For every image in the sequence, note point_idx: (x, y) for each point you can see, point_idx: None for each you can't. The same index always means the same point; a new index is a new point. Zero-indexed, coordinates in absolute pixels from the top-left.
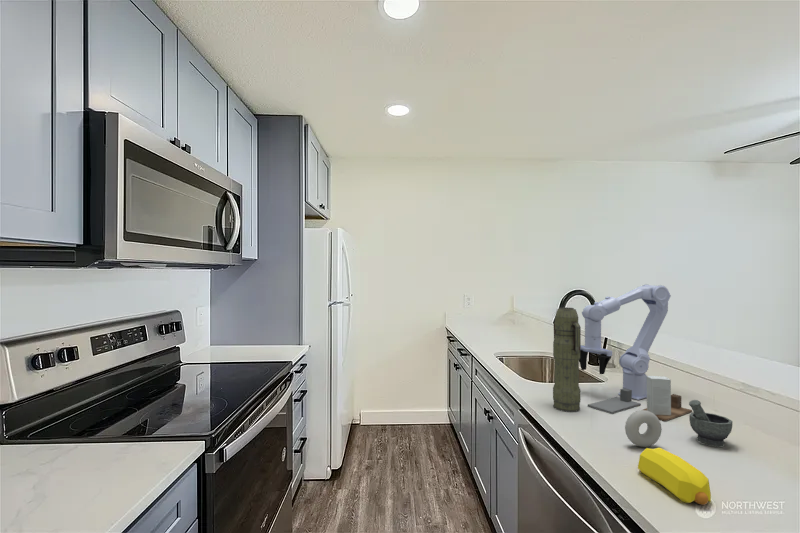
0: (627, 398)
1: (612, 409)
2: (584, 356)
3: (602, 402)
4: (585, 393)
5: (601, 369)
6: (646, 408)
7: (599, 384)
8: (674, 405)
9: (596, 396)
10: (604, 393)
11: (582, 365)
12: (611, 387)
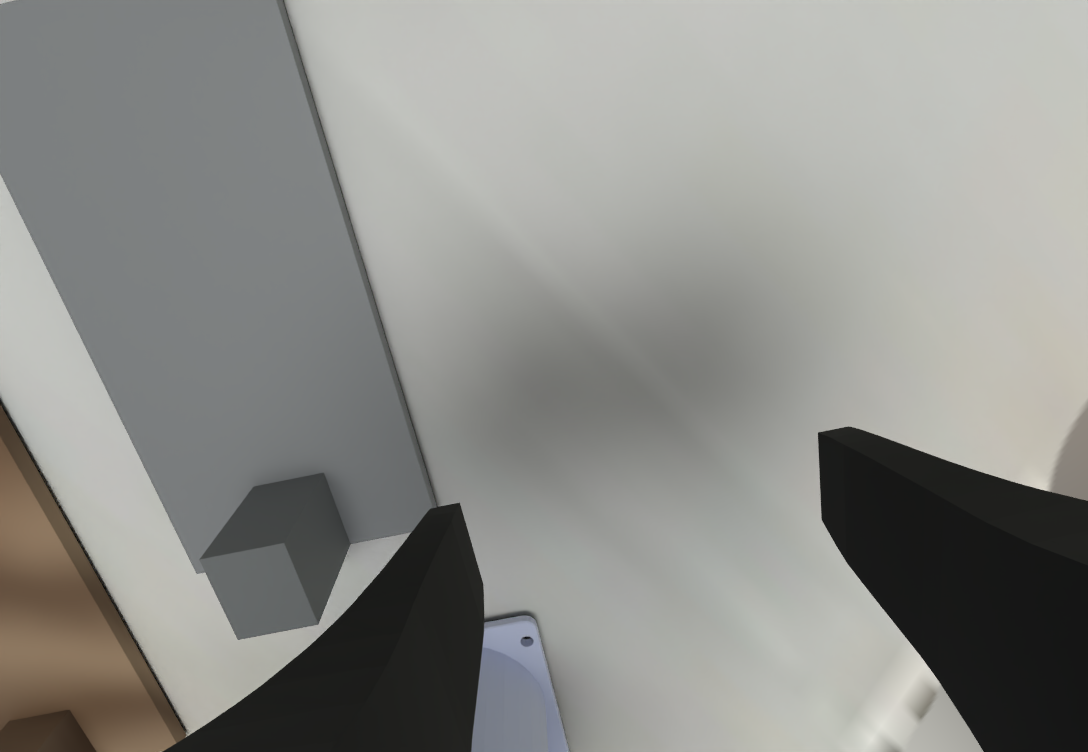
0: (239, 512)
1: (24, 115)
2: (1028, 709)
3: (298, 224)
4: (701, 362)
5: (393, 560)
6: (33, 500)
7: (853, 702)
8: (12, 736)
9: (570, 391)
10: (619, 541)
11: (871, 472)
12: (734, 724)
